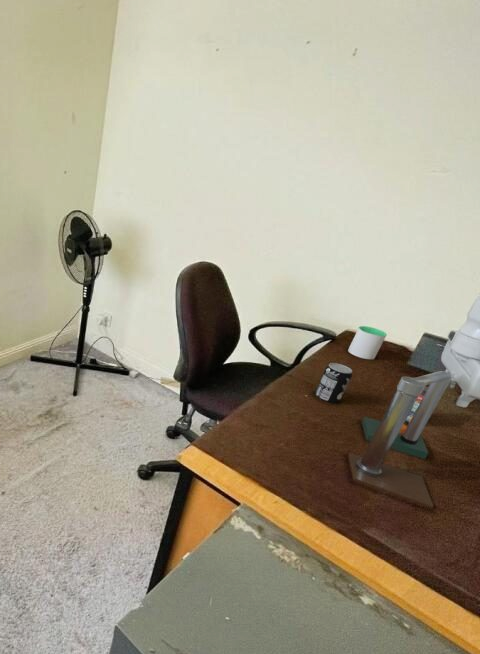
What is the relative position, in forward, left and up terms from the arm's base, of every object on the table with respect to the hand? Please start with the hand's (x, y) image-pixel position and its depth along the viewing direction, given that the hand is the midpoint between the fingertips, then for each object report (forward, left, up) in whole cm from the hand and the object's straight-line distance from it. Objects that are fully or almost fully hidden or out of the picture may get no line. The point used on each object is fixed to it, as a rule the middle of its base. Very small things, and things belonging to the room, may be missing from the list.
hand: (453, 395), depth 102 cm
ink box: (-3, -23, -21) cm, 32 cm away
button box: (+4, -6, -21) cm, 22 cm away
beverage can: (+18, -20, -21) cm, 35 cm away
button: (+4, -6, -17) cm, 19 cm away
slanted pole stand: (+8, +16, -21) cm, 27 cm away
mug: (+4, -68, -21) cm, 72 cm away
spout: (+9, +11, -13) cm, 19 cm away
